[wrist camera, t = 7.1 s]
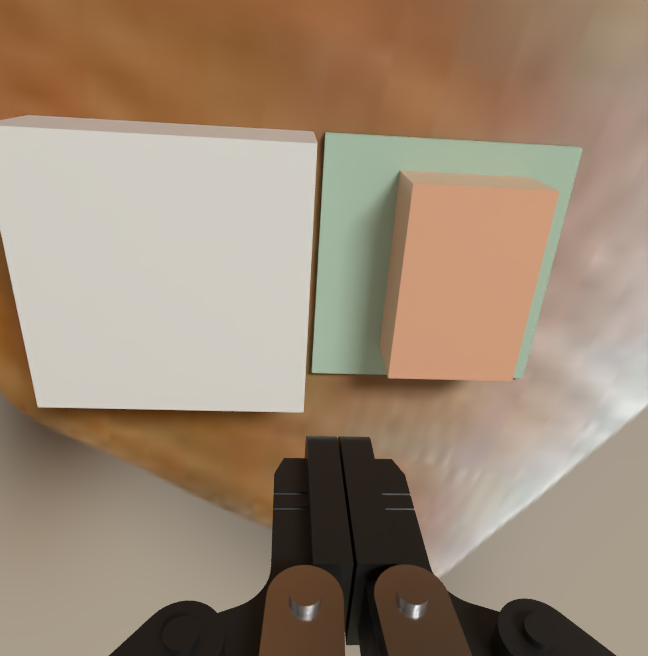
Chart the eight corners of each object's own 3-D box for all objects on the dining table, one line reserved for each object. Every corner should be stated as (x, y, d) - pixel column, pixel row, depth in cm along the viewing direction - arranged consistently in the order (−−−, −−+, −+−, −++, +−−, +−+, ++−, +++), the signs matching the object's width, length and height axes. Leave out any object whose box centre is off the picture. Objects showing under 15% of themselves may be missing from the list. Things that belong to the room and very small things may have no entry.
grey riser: (28, 115, 22) (-23, 124, 19) (313, 131, 23) (317, 143, 20) (71, 362, 28) (38, 407, 24) (302, 368, 28) (303, 412, 25)
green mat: (325, 132, 23) (325, 133, 23) (578, 146, 24) (582, 148, 24) (311, 369, 29) (311, 372, 28) (519, 374, 29) (522, 378, 29)
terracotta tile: (559, 190, 21) (530, 177, 24) (413, 183, 21) (399, 170, 24) (512, 381, 25) (491, 351, 28) (388, 378, 25) (378, 347, 28)
